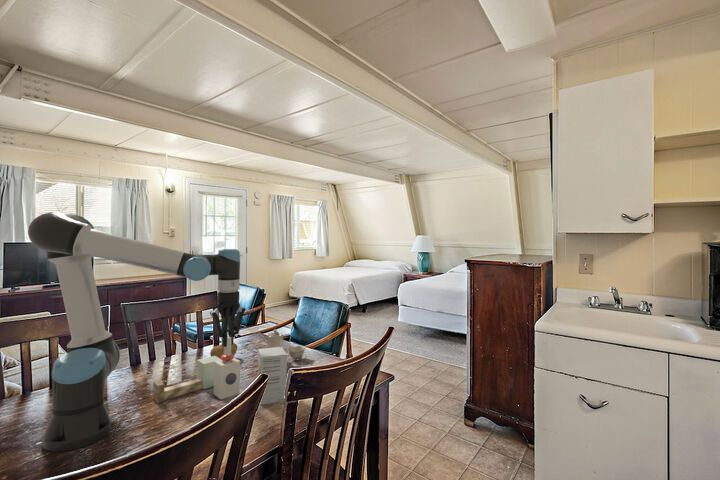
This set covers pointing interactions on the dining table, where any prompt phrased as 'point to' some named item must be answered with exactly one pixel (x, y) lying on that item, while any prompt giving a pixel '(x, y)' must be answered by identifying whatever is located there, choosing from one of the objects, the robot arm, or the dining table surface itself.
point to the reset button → (227, 358)
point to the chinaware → (276, 341)
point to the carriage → (206, 371)
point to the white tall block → (226, 378)
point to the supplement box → (273, 373)
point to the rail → (174, 389)
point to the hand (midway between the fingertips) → (227, 354)
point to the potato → (222, 350)
